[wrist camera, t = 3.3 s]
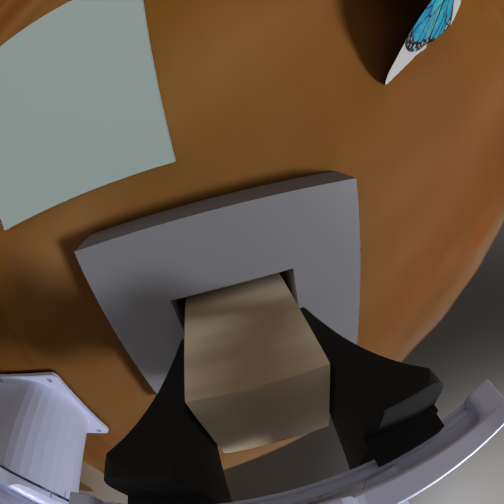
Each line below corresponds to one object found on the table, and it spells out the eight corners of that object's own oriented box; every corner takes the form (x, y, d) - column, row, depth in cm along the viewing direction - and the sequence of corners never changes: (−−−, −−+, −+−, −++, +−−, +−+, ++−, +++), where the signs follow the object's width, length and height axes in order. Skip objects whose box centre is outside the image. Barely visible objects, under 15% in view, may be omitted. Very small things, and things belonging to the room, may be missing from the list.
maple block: (210, 345, 15) (225, 453, 9) (186, 283, 13) (184, 401, 7) (283, 326, 16) (328, 425, 9) (272, 260, 14) (330, 363, 7)
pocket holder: (174, 393, 16) (174, 416, 15) (89, 234, 11) (74, 252, 9) (342, 348, 17) (354, 368, 16) (334, 170, 12) (356, 178, 10)
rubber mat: (9, 227, 10) (4, 230, 10) (-18, 67, 6) (-23, 66, 5) (175, 160, 11) (174, 161, 10) (140, -22, 6) (138, -27, 6)
